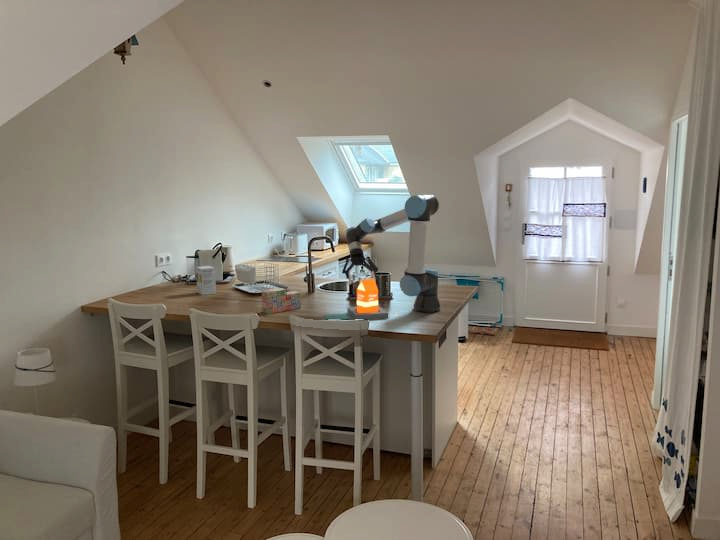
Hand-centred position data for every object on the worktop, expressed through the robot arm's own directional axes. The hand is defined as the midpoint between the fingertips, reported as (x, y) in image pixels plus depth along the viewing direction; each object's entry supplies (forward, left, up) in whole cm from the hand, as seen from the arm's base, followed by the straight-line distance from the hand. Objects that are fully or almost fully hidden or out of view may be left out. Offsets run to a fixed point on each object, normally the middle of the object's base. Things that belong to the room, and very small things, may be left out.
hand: (362, 282), depth 326 cm
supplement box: (+83, -76, -17) cm, 114 cm away
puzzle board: (-1, +8, -17) cm, 19 cm away
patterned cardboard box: (+43, -17, -17) cm, 49 cm away
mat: (+16, +8, -17) cm, 25 cm away
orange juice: (-1, +8, -17) cm, 19 cm away
